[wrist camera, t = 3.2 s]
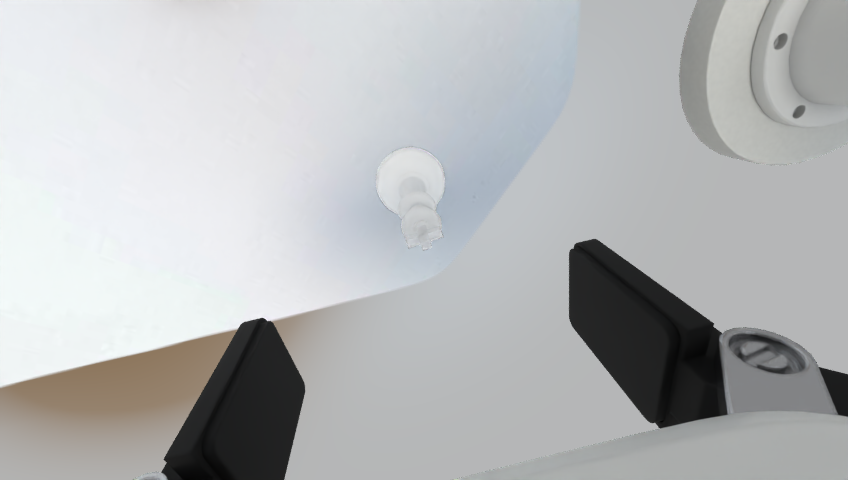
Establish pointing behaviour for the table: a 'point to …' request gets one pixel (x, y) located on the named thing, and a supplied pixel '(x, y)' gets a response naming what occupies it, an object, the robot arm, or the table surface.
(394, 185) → the chess piece
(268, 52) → the table surface
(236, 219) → the table surface
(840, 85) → the robot arm
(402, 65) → the table surface
